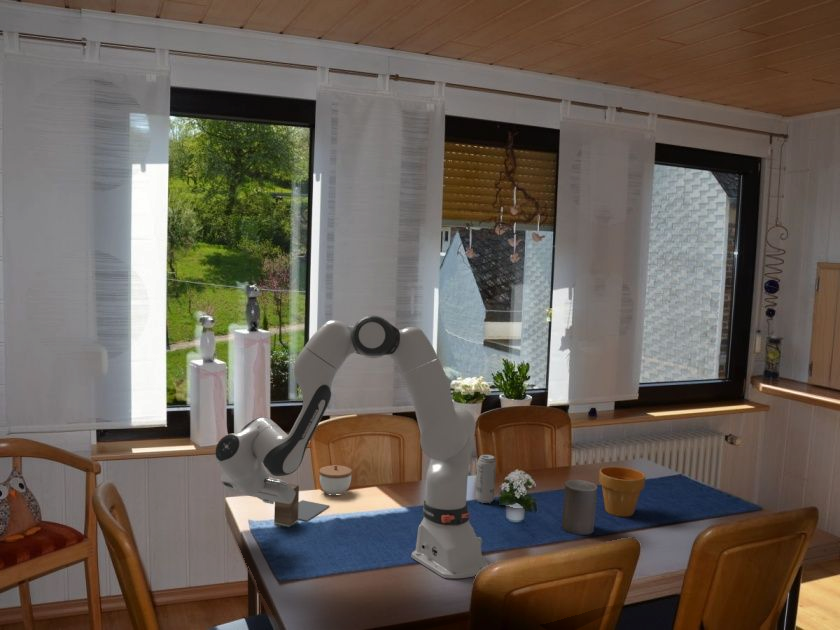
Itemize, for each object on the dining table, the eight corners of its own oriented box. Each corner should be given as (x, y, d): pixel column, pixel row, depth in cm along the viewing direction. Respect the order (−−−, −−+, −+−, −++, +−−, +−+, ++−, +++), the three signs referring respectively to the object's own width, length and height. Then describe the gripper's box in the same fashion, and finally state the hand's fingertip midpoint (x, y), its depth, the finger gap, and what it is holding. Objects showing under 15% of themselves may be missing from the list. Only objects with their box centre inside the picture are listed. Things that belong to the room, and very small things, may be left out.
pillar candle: (554, 526, 224) (558, 478, 222) (575, 519, 230) (578, 473, 229) (580, 537, 217) (584, 488, 215) (600, 530, 223) (604, 482, 221)
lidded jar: (356, 491, 248) (357, 463, 247) (340, 500, 238) (341, 472, 237) (329, 485, 252) (330, 458, 251) (312, 494, 242) (313, 466, 242)
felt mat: (306, 521, 219) (306, 520, 219) (278, 515, 223) (278, 514, 223) (329, 506, 232) (329, 505, 232) (302, 501, 236) (302, 500, 236)
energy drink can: (494, 504, 241) (497, 459, 239) (475, 503, 241) (478, 458, 239) (493, 498, 247) (495, 454, 245) (475, 497, 247) (477, 453, 245)
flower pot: (641, 523, 230) (644, 482, 229) (594, 515, 235) (597, 476, 233) (643, 508, 244) (646, 470, 242) (599, 501, 248) (601, 464, 247)
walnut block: (288, 527, 214) (290, 490, 213) (274, 524, 216) (275, 487, 215) (297, 521, 219) (299, 485, 218) (283, 518, 221) (284, 482, 220)
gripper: (289, 473, 197) (306, 497, 207) (225, 460, 204) (244, 485, 214) (279, 494, 193) (297, 518, 203) (214, 481, 201) (235, 504, 211)
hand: (270, 501), depth 209 cm, fingers closed
